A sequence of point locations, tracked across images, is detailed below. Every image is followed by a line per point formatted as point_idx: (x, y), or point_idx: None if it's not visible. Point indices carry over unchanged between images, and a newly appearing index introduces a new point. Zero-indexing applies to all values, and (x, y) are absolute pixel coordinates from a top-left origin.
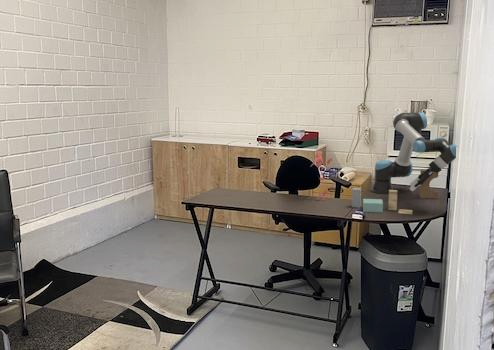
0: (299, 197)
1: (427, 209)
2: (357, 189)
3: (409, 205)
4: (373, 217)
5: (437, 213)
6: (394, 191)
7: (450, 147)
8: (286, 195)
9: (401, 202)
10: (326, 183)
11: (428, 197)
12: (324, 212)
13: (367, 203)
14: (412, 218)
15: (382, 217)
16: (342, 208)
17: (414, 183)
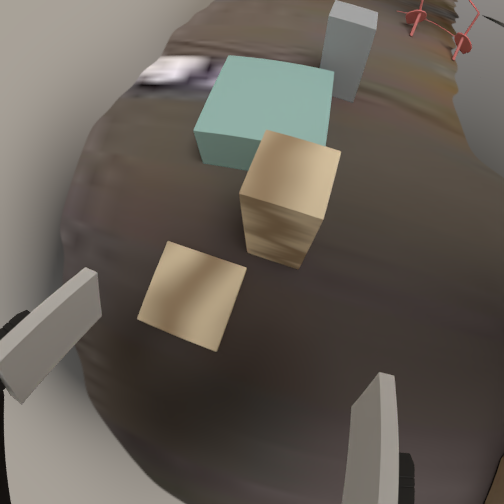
0: (429, 12)
1: (255, 461)
2: (337, 11)
3: None
4: (127, 116)
5: (152, 473)
6: (265, 175)
7: None
8: (438, 4)
9: (448, 340)
10: (475, 19)
11: (491, 491)
12: (239, 7)
13: (222, 69)
14: None
15: (115, 148)
16: (297, 43)
17: (360, 441)
